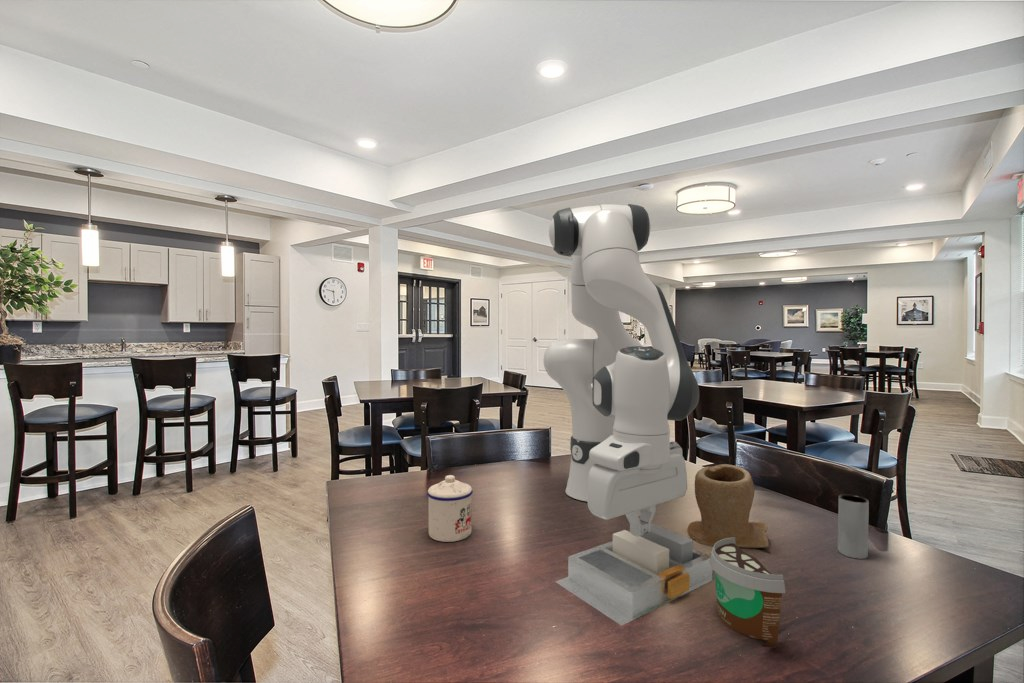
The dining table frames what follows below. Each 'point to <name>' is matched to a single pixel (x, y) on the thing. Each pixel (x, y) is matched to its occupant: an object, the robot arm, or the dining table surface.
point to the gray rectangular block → (671, 543)
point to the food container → (746, 592)
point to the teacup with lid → (449, 510)
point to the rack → (630, 582)
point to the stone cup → (726, 508)
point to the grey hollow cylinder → (853, 526)
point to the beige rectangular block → (641, 551)
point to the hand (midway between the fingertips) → (640, 533)
